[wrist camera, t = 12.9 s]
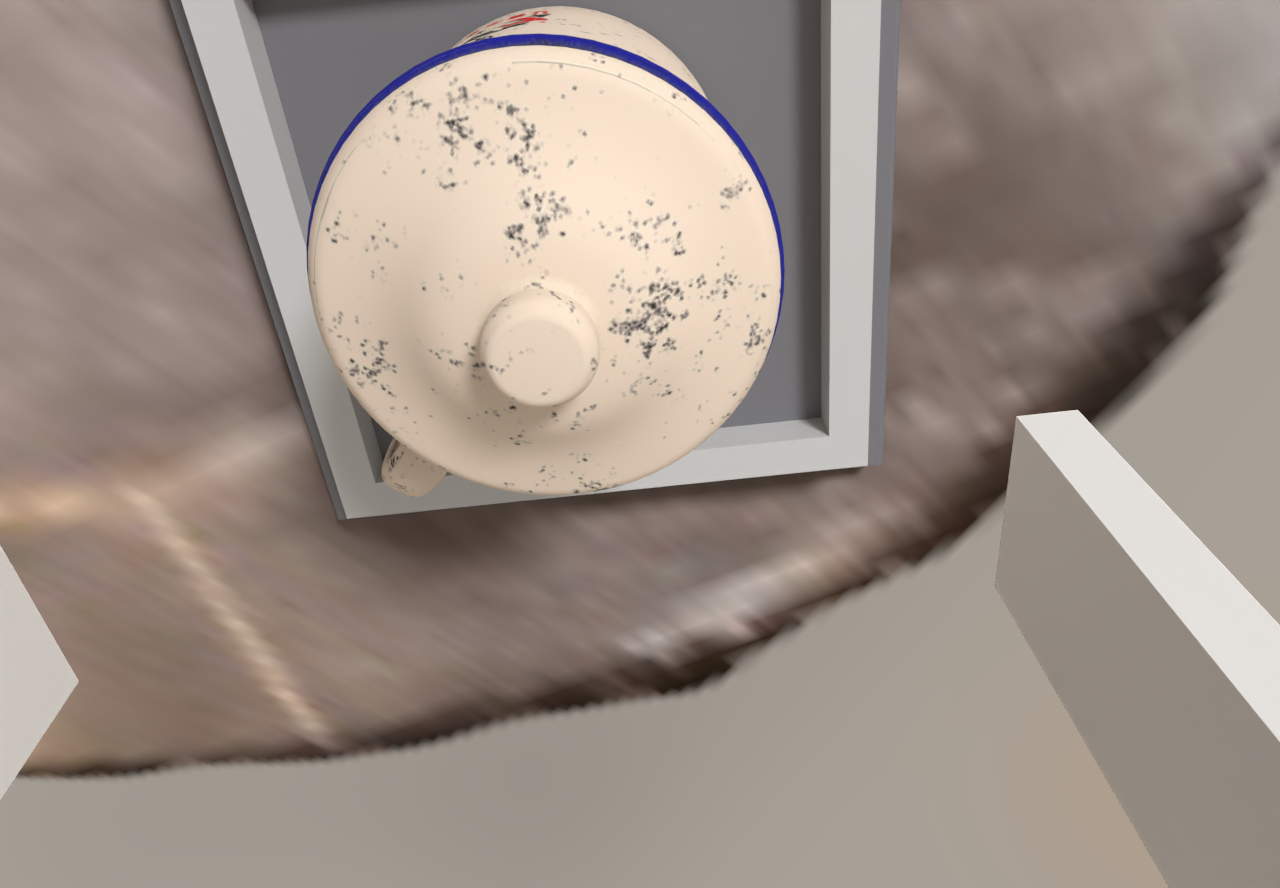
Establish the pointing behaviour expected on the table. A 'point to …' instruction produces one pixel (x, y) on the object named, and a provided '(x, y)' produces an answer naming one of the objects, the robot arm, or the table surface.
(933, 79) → the table surface
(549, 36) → the teacup with lid
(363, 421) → the base
